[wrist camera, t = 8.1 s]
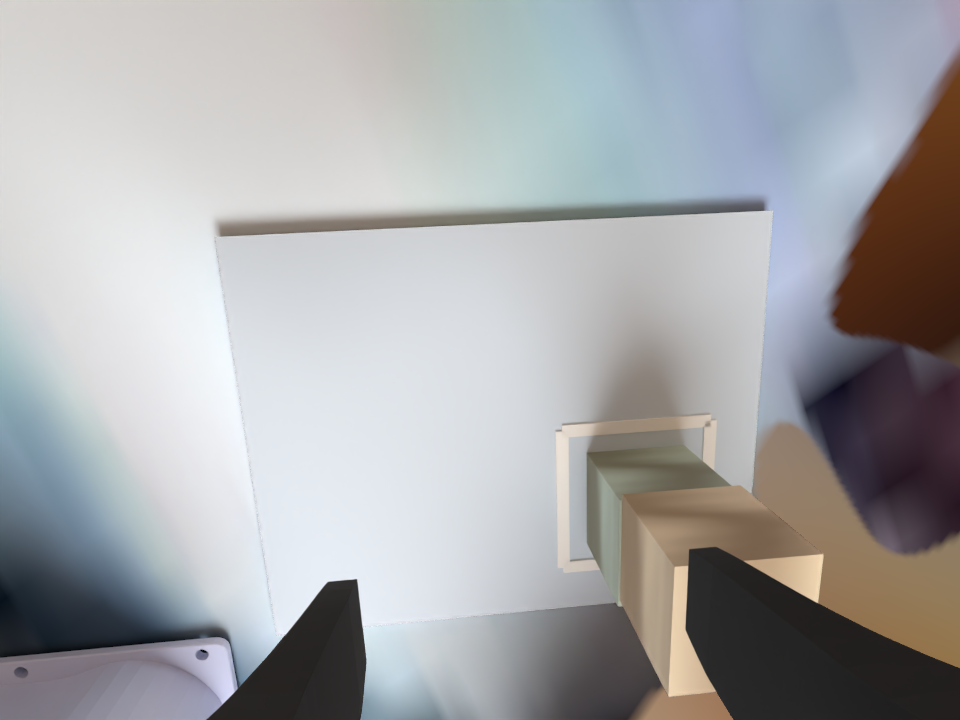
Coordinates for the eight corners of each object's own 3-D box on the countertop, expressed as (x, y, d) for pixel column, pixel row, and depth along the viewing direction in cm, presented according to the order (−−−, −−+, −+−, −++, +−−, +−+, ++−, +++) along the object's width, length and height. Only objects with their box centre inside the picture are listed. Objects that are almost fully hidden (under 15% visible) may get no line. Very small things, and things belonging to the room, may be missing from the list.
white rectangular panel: (279, 627, 23) (275, 637, 22) (219, 236, 19) (213, 236, 19) (738, 583, 24) (746, 591, 24) (765, 210, 21) (774, 210, 20)
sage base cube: (586, 542, 23) (618, 606, 19) (586, 452, 22) (619, 500, 18) (680, 534, 23) (730, 595, 19) (684, 444, 22) (737, 490, 18)
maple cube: (619, 600, 19) (668, 696, 15) (622, 494, 18) (674, 566, 14) (732, 590, 19) (808, 682, 15) (740, 485, 18) (824, 554, 14)
